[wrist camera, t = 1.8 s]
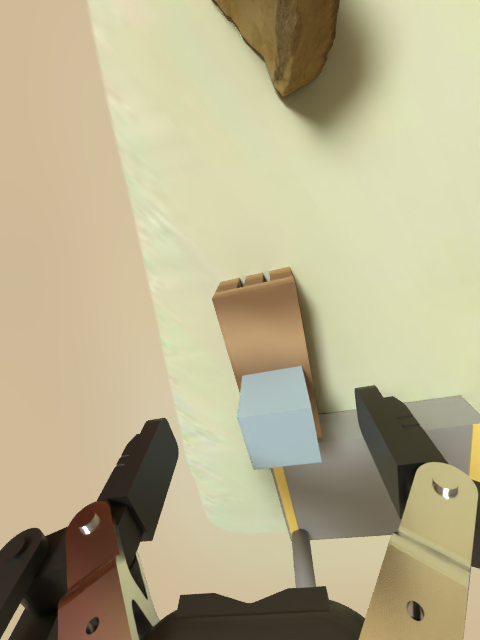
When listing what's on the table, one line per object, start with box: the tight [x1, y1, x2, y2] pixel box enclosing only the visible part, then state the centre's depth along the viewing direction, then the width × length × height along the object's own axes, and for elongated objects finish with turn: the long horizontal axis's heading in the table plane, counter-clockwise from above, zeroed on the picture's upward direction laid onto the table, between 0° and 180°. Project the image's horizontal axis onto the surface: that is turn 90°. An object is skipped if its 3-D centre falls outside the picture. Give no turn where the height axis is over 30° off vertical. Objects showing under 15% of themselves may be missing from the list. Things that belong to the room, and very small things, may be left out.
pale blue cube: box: [237, 366, 322, 470], centre depth 18 cm, size 4×4×4 cm
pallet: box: [212, 267, 322, 438], centre depth 21 cm, size 12×5×4 cm, turn 14°
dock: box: [271, 396, 480, 588], centre depth 22 cm, size 16×12×9 cm
